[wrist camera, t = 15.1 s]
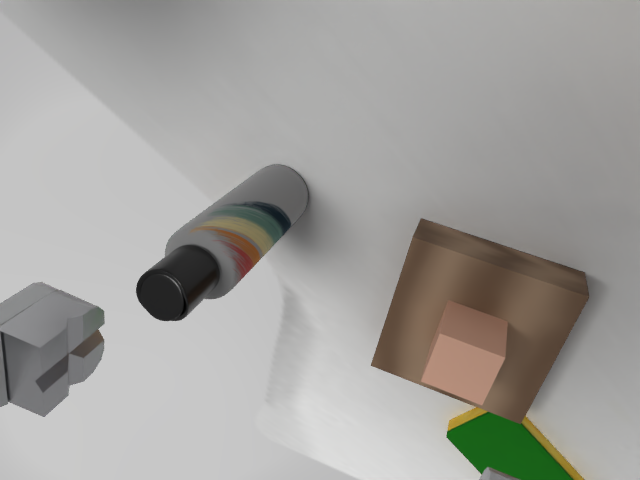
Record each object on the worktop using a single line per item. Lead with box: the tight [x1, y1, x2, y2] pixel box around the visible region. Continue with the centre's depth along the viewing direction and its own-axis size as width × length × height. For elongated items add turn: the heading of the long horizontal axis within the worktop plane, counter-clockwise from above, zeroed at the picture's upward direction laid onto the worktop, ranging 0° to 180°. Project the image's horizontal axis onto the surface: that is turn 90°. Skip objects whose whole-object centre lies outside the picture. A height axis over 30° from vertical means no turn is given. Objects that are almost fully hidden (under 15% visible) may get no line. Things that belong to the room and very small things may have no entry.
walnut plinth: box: [371, 219, 589, 424], centre depth 49 cm, size 14×14×4 cm
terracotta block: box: [421, 300, 508, 405], centre depth 45 cm, size 5×5×5 cm
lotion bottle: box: [136, 165, 308, 321], centre depth 43 cm, size 6×6×20 cm
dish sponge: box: [447, 407, 584, 480], centre depth 55 cm, size 7×14×2 cm, turn 46°
